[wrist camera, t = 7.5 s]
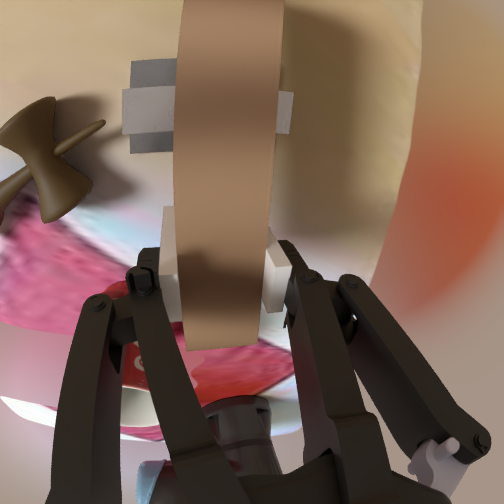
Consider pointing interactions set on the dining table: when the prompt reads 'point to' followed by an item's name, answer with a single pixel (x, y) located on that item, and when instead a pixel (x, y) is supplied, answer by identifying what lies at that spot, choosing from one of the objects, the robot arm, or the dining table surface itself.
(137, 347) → the mug
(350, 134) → the dining table surface
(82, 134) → the kendama
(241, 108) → the walnut bar
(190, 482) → the robot arm
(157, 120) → the fulcrum
